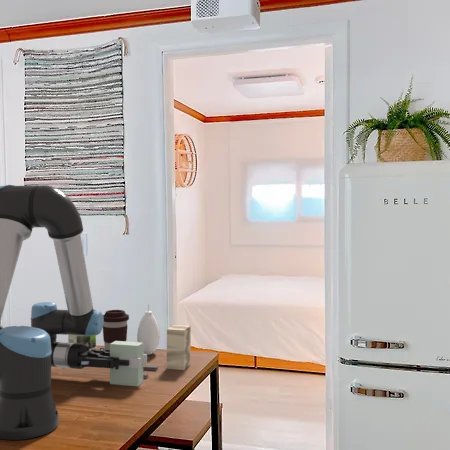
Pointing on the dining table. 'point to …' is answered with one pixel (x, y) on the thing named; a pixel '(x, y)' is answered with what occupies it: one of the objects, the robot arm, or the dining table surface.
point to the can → (83, 340)
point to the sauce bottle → (148, 333)
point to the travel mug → (114, 327)
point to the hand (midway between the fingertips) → (143, 361)
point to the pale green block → (126, 373)
